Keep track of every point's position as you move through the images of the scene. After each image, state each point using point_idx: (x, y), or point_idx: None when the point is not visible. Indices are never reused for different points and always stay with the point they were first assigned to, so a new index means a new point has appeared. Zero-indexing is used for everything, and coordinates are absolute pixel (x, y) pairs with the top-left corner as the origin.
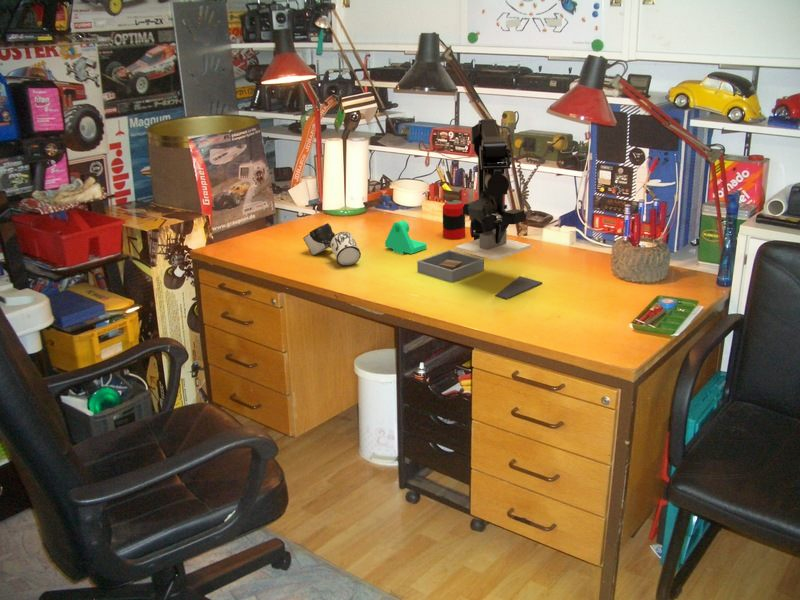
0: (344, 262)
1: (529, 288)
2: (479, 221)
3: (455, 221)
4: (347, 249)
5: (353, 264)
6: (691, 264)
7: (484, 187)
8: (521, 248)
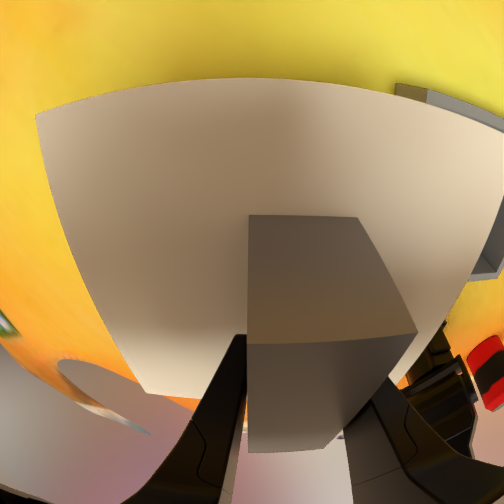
0: None
1: None
2: (468, 467)
3: (493, 372)
4: None
5: None
6: (109, 415)
7: None
8: (122, 353)
